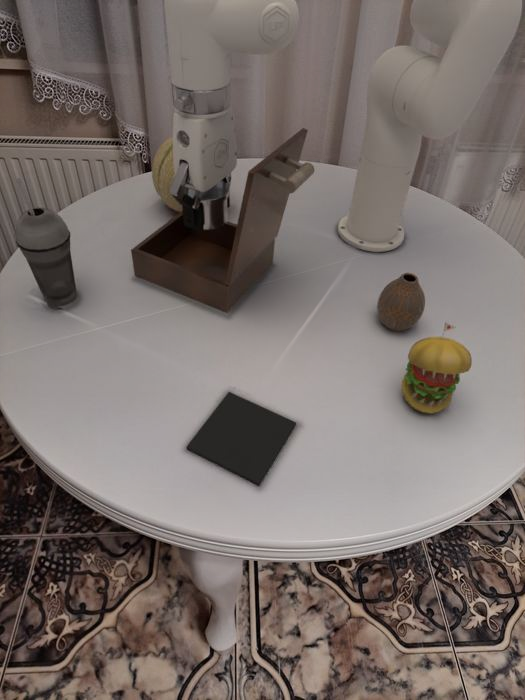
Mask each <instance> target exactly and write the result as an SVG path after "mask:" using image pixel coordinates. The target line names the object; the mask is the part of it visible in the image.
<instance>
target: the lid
mask: <svg viewBox="0 0 525 700" xmlns="http://www.w3.org/2000/svg"><path fill="white" fill-rule="evenodd" d="M308 131H309V130H308V128H304V127H302V128H301V129H300V130H299V131H297V132H296V133H295V134H293V135H292V136H291V137H290V138H288V139H287V140H286V141H284V142H283V143H282V144H280V146H278V147H277V148H276V149H274V150H273V151H272V152H270V153H269V154H268V155H267V156H266V157H265V158H263V159H262V160H261V161H260V162H258V163H257V164H255V165H254V166H253V167H252V168H251V169H249V170H248V171H247V176H246V181H245V185H244V191H243V195H242V201H241V204H240V210H239V215H238V220H237V223H236V224H237V229H236V233H235V238H234V243H233V248H232V252H231V257H230V262H229V267H228V271H227V276H226V281H225V284H227V285H229V286H230V285H231V284H232V282H233V281H234V280H235V279H236V278H237V277H238V276H239V275H240V274H241V273H242V272H243V271H244V270H245V269H246V268H247V267H248V266H249V265H250V264H251V263H252V262H253V261H254V260H255V259H256V258H257V257H258V256H259V254H260V253H261V252H262V251H263V250H264V249H265V248H266V247H267V246H268V245H269V244H270V243H271V242H272V241H273V240H274V239H275V240H276V238H277V237H278V236H279V232H280V229H281V225H282V222H283V218H284V214H285V211H286V207H287V205H288V201H289V198H290V195H291V194H294V193H295V192H296V191H297V190H298V189H299V188H300V187H302V185H304V184H305V182H306V181H307V180H308V179H309V178H311V177H312V176H313V175H314V173H315V167H314V165H313V164H312V163H311V162H309V161H308V162H304V163H303V164H302V163H300V159H301V156H302V152H303V149H304V145H305V142H306V138H307V135H308Z"/></svg>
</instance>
